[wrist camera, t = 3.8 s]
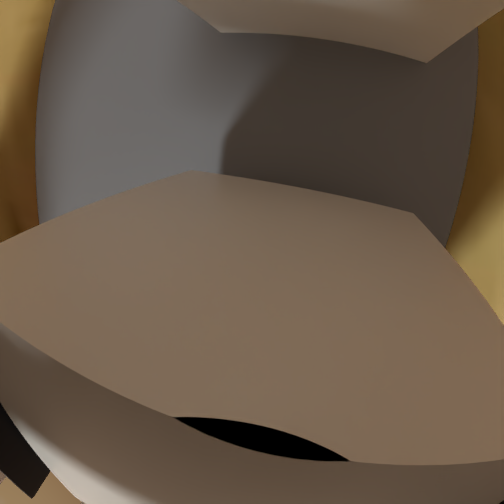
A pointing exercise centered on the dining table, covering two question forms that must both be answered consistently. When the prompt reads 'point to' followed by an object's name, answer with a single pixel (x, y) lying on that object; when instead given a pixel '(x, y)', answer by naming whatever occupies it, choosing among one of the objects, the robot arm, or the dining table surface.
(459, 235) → the dining table surface
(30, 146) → the dining table surface
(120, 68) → the board
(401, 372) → the empty cover
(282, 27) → the block
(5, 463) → the robot arm
